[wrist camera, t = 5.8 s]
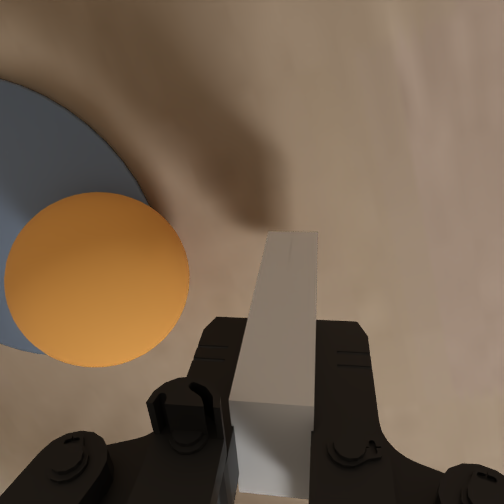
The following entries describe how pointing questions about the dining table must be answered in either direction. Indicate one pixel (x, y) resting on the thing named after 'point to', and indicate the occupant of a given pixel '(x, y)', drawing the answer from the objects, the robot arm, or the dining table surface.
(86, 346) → the ball
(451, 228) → the dining table surface
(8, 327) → the disc
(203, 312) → the dining table surface
